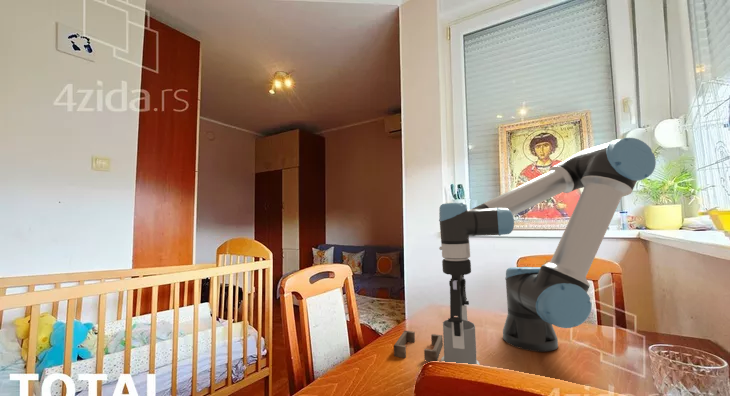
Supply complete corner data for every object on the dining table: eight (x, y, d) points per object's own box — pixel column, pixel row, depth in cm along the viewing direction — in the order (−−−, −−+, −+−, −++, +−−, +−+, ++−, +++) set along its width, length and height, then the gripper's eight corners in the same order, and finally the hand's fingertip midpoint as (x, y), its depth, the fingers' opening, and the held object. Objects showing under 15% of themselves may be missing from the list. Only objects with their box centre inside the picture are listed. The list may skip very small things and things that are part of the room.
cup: (479, 371, 76) (477, 330, 76) (445, 368, 77) (444, 329, 78) (473, 355, 84) (471, 319, 85) (443, 353, 86) (442, 318, 86)
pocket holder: (442, 345, 92) (442, 335, 92) (436, 363, 81) (436, 351, 81) (405, 339, 97) (404, 330, 97) (394, 356, 86) (393, 345, 86)
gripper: (447, 252, 95) (452, 320, 94) (434, 266, 72) (440, 356, 71) (472, 252, 93) (477, 322, 91) (467, 266, 70) (473, 360, 68)
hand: (461, 337), depth 81 cm, fingers open, 13 cm apart
